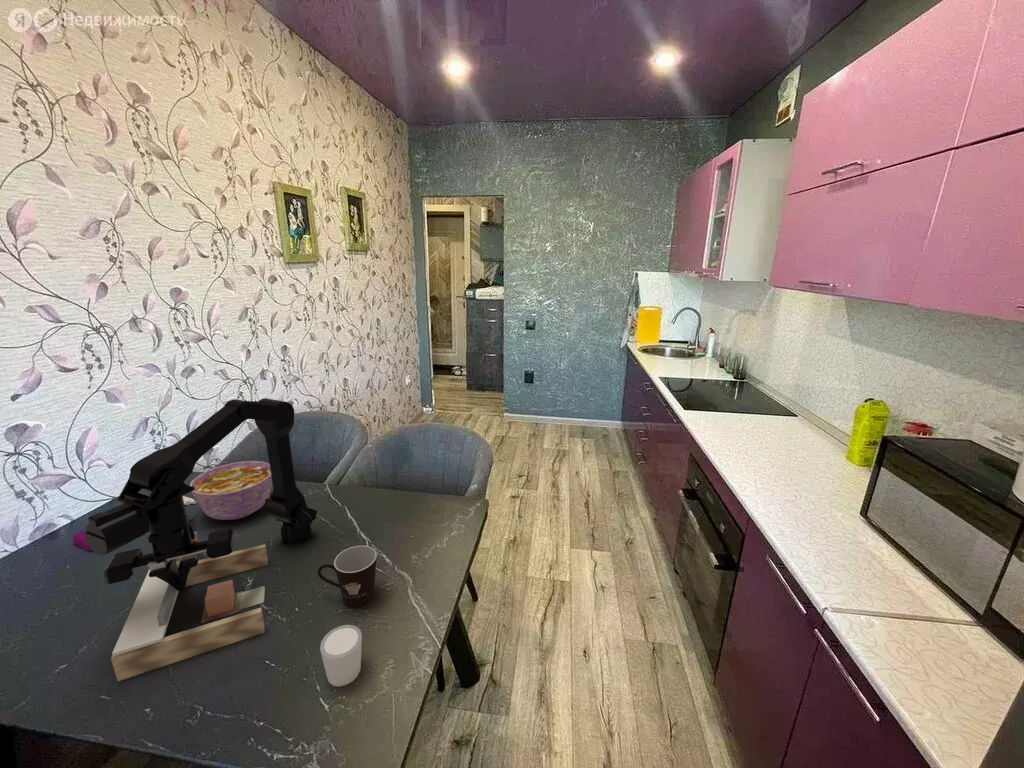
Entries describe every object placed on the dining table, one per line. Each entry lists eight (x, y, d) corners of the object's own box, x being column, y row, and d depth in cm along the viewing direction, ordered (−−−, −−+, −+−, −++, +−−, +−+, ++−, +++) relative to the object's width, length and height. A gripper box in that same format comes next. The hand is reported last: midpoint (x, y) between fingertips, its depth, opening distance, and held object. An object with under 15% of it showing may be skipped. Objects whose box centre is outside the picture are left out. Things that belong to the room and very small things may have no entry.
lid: (188, 561, 89) (185, 551, 89) (162, 641, 71) (159, 628, 70) (150, 571, 86) (147, 560, 86) (112, 656, 68) (108, 643, 67)
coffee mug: (387, 588, 92) (384, 550, 89) (362, 617, 84) (358, 577, 81) (345, 575, 96) (342, 538, 93) (317, 601, 88) (313, 562, 85)
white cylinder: (331, 654, 76) (327, 624, 74) (368, 653, 76) (366, 623, 75) (317, 691, 69) (313, 659, 67) (358, 688, 70) (355, 657, 68)
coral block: (235, 595, 87) (232, 579, 86) (233, 609, 84) (229, 593, 83) (211, 602, 85) (207, 586, 84) (208, 617, 82) (204, 600, 81)
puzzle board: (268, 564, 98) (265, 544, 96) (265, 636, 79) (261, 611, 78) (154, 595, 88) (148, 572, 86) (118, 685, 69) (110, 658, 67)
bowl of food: (178, 526, 111) (169, 488, 108) (240, 490, 130) (234, 457, 127) (238, 538, 107) (232, 499, 104) (293, 499, 126) (289, 465, 123)
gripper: (231, 490, 87) (242, 552, 91) (116, 512, 78) (133, 579, 83) (225, 517, 78) (237, 584, 82) (93, 545, 69) (114, 619, 73)
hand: (182, 590), depth 80 cm, fingers closed
